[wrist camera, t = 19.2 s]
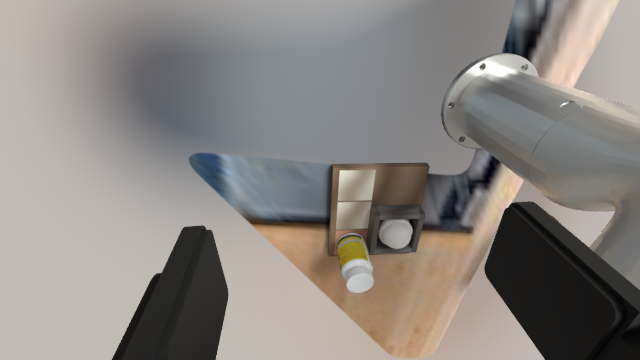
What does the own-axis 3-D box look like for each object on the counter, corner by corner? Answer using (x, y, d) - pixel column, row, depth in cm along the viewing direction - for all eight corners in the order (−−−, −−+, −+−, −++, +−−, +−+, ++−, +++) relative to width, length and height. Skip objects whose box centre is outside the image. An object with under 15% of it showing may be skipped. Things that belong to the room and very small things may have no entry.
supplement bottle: (330, 241, 50) (336, 282, 43) (354, 227, 49) (364, 266, 41) (347, 257, 52) (355, 299, 45) (370, 244, 51) (382, 284, 44)
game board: (426, 162, 45) (436, 175, 42) (406, 248, 54) (414, 264, 51) (332, 164, 44) (335, 176, 41) (328, 251, 53) (330, 267, 49)
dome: (410, 211, 48) (421, 229, 44) (405, 237, 50) (414, 256, 47) (378, 212, 47) (385, 231, 44) (374, 238, 50) (381, 257, 46)
